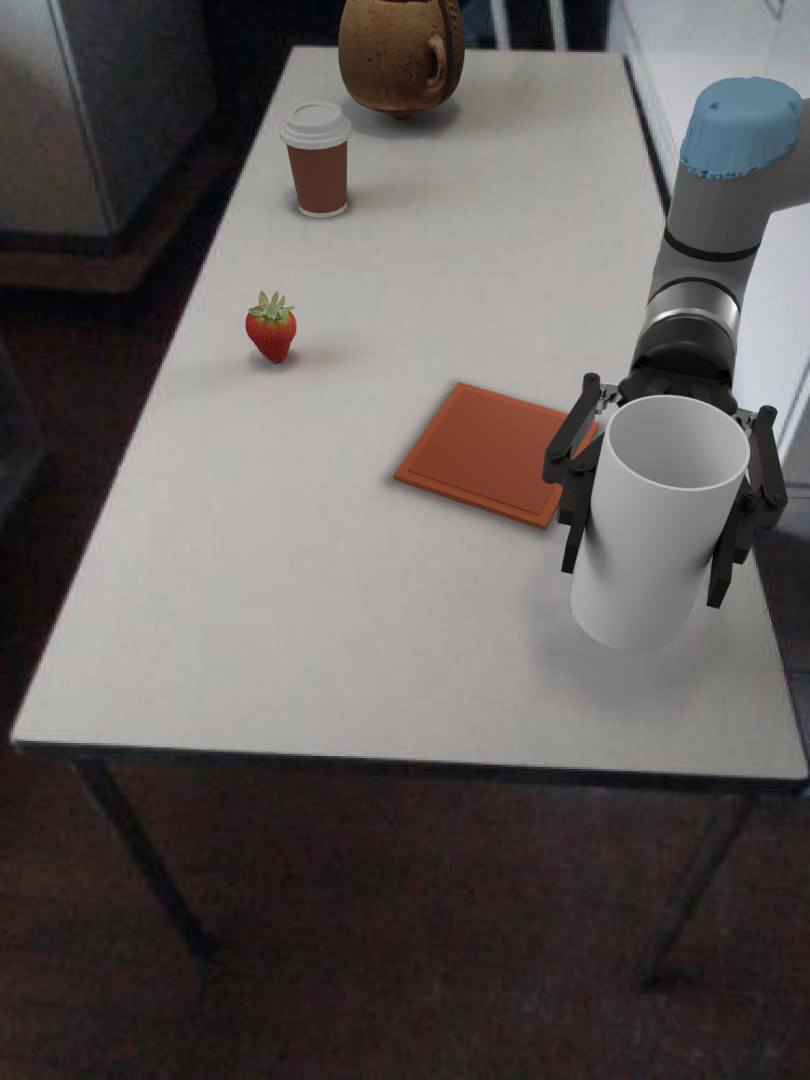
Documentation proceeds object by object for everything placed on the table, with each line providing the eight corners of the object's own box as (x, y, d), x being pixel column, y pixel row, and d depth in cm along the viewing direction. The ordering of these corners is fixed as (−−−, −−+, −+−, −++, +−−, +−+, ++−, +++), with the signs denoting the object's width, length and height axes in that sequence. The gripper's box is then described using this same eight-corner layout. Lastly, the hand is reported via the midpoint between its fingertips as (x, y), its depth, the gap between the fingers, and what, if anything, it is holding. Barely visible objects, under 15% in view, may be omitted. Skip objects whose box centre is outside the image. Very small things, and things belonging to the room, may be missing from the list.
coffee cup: (361, 189, 116) (356, 97, 107) (352, 224, 110) (345, 130, 101) (295, 187, 117) (284, 96, 107) (282, 222, 111) (269, 128, 102)
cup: (634, 674, 58) (689, 513, 45) (546, 599, 62) (575, 434, 50) (710, 610, 61) (780, 445, 49) (622, 543, 65) (666, 376, 53)
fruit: (292, 379, 90) (282, 314, 84) (244, 372, 91) (231, 308, 85) (307, 350, 93) (299, 285, 87) (260, 343, 94) (249, 279, 88)
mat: (598, 427, 84) (599, 422, 84) (545, 530, 75) (546, 525, 75) (458, 386, 89) (459, 380, 88) (393, 479, 80) (393, 473, 79)
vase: (330, 98, 135) (311, -139, 113) (439, 83, 138) (442, -151, 115) (361, 158, 122) (347, -97, 99) (482, 141, 125) (495, -112, 102)
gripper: (811, 419, 66) (804, 654, 52) (544, 370, 71) (472, 574, 57) (847, 338, 60) (850, 578, 46) (554, 291, 65) (477, 496, 51)
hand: (642, 576), depth 52 cm, fingers closed on cup, 8 cm apart
